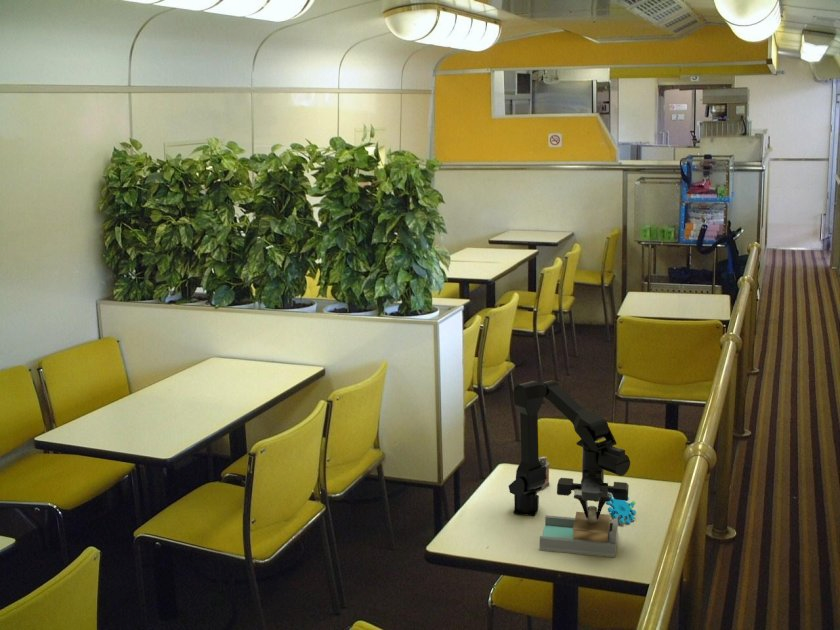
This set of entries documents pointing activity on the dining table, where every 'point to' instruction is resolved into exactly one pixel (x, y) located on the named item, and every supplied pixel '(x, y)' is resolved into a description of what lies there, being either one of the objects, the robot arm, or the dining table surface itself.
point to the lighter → (546, 464)
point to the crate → (592, 526)
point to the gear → (621, 509)
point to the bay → (562, 539)
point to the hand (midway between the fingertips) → (592, 517)
